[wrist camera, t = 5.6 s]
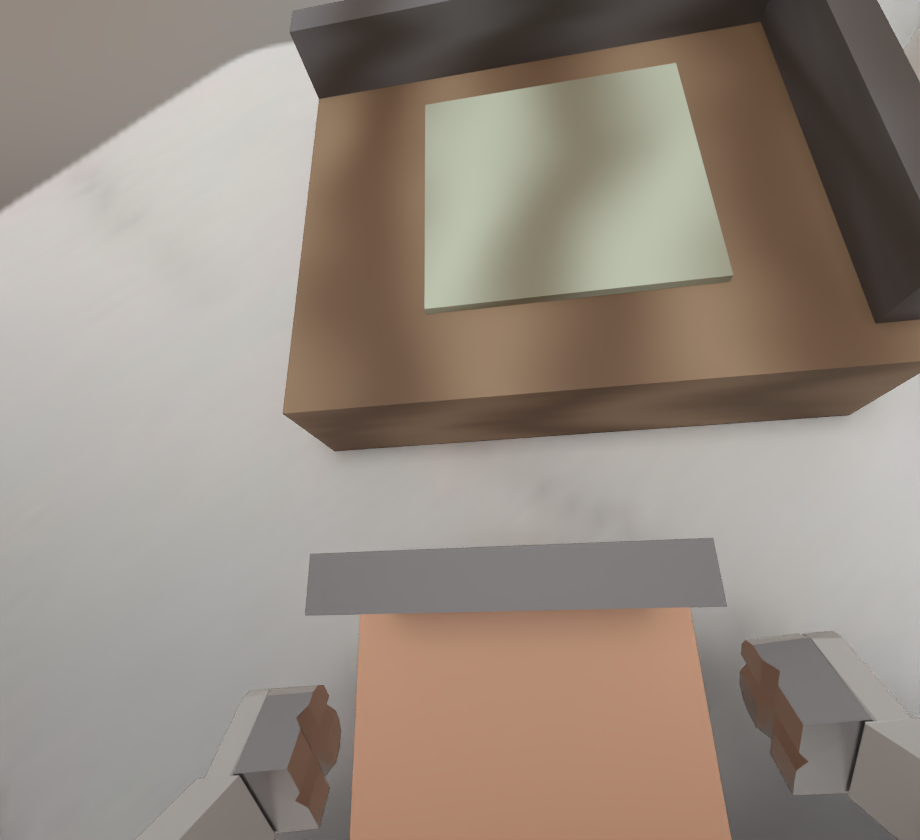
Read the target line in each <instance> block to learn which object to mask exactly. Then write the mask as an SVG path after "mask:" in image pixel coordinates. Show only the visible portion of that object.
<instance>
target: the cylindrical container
mask: <svg viewBox="0 0 920 840" xmlns="http://www.w3.org/2000/svg"><path fill="white" fill-rule="evenodd" d="M903 51H904V53H905V55H906V56H907V58H908V60H909V62H910V64H911V66H912V68H913V70H914V72H915V74H916V75H917V77H918V79H919V81H920V26H919V28H918V29H917V31H916V32H915V34H914V35H913V37H912V38H911V40H910V41H909V43H908V44H907V46H906V47H905V49H904V50H903Z"/></svg>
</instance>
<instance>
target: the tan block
mask: <svg viewBox="0 0 920 840" xmlns="http://www.w3.org/2000/svg"><path fill="white" fill-rule="evenodd" d="M726 606H727V604H726V599H725V594H724V589H723V584H722V579H721V574H720V569H719V564H718V560H717V555H716V550H715V545H714V540H713V538H699V539H674V540H649V541H623V542H598V543H573V544H548V545H523V546H498V547H472V548H447V549H422V550H397V551H372V552H346V553H321V554H310V563H309V575H308V587H307V598H306V610H305V615H351V614H360V628H359V650H358V671H357V692H356V714H355V735H354V756H353V778H352V799H351V820H350V840H731V834H730V828H729V823H728V817H727V812H726V806H725V800H724V795H723V789H722V784H721V778H720V773H719V767H718V761H717V756H716V750H715V745H714V739H713V733H712V728H711V722H710V717H709V711H708V706H707V700H706V694H705V689H704V683H703V678H702V672H701V666H700V661H699V655H698V650H697V644H696V639H695V633H694V627H693V622H692V616H691V611H690V607H726Z"/></svg>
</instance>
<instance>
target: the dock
mask: <svg viewBox="0 0 920 840" xmlns="http://www.w3.org/2000/svg"><path fill="white" fill-rule="evenodd" d="M290 34H291V36H292V39H293V41H294V43H295V45H296V48H297V50H298V52H299V54H300V57H301V59H302V61H303V64H304V66H305V68H306V70H307V73H308V75H309V77H310V79H311V82H312V84H313V86H314V89H315V91H316V93H317V95H318V98H319V104H318V113H317V122H316V130H315V139H314V148H313V156H312V165H311V174H310V182H309V191H308V200H307V208H306V217H305V226H304V234H303V243H302V252H301V260H300V269H299V278H298V286H297V295H296V304H295V312H294V321H293V330H292V338H291V347H290V356H289V364H288V373H287V382H286V390H285V399H284V408H283V414H284V415H285V416H287V417H288V418H289V419H291V420H292V421H294V422H295V423H296V424H298V425H299V426H301V427H302V428H303V429H305V430H306V431H307V432H309V433H310V434H312V435H313V436H314V437H316V438H317V439H319V440H320V441H321V442H323V443H324V444H325V445H327V446H328V447H330V448H331V449H332V450H334V451H341V450H355V449H369V448H384V447H398V446H412V445H427V444H441V443H455V442H470V441H484V440H498V439H512V438H527V437H541V436H555V435H570V434H584V433H598V432H612V431H627V430H641V429H655V428H670V427H684V426H698V425H712V424H727V423H741V422H755V421H770V420H784V419H798V418H812V417H827V416H841V415H850V414H852V413H853V412H855V411H857V410H858V409H860V408H862V407H863V406H865V405H867V404H869V403H870V402H872V401H874V400H875V399H877V398H879V397H880V396H882V395H884V394H885V393H887V392H889V391H890V390H892V389H894V388H895V387H897V386H899V385H900V384H902V383H904V382H906V381H907V380H909V379H911V378H912V377H914V376H916V375H917V374H919V373H920V81H919V79H918V77H917V75H916V74H915V72H914V70H913V68H912V66H911V64H910V62H909V60H908V58H907V56H906V55H905V53H904V51H903V49H902V47H901V45H900V43H899V41H898V39H897V37H896V36H895V34H894V32H893V30H892V28H891V26H890V24H889V22H888V20H887V18H886V17H885V15H884V13H883V11H882V9H881V7H880V5H879V3H878V1H877V0H344V1H339V2H334V3H329V4H324V5H319V6H315V7H309V8H305V9H300V10H295V11H293V14H292V20H291V26H290Z"/></svg>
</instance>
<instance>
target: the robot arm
mask: <svg viewBox="0 0 920 840" xmlns="http://www.w3.org/2000/svg"><path fill="white" fill-rule="evenodd" d="M741 655H742V657H743V658H744V660H745V662H746V665H745V666H744V667H743V668H742V669H741V670H740V688H741V692H742V696H743V700H744V703H745V705H746V708H747V710H748V713H749V715H750V717H751V719H752V720H753V722H754V724H755V726H756V728H758V729H759V730H760V731H762V732H763V733H764V734H766V735H767V736H768V737H770V738H771V748H770V754H771V756H772V758H773V760H774V762H775V764H776V765H777V767H778V769H779V771H780V773H781V775H782V777H783V778H784V780H785V782H786V784H787V786H788V788H789V789H790V791H791V793H792V795H815V794H839V793H849V794H848V797H849V798H851V799H852V800H853V801H854V802H855V803H856V804H858V805H859V806H860V807H861V808H862V809H863V810H864V811H866V812H867V813H868V814H869V815H870V816H871V817H873V818H874V819H875V820H876V821H877V822H878V823H880V824H881V825H882V826H883V827H884V828H885V829H886V830H888V831H889V832H890V833H891V834H892V835H893V836H895V837H896V838H897V839H898V840H920V718H911V717H910V716H909V715H908V713H907V712H906V711H905V710H904V709H903V708H902V706H901V705H900V704H899V703H898V702H897V701H896V699H895V698H894V697H893V696H892V695H891V694H890V692H889V691H888V690H887V689H886V688H885V687H884V685H883V684H882V683H881V682H880V681H879V680H878V678H877V677H876V676H875V675H874V674H873V673H872V671H871V670H870V669H869V668H868V667H867V666H866V664H865V663H864V662H863V661H862V660H861V659H860V657H859V656H858V655H857V654H856V653H855V652H854V650H853V649H852V648H851V647H850V646H849V645H848V643H847V642H846V641H845V640H844V639H843V638H842V636H841V635H839V634H838V633H836V632H834V631H824V632H815V633H806V634H791V635H782V636H774V637H765V638H757V639H749V640H745V641H744V642H743V644H742V649H741ZM328 697H329V695H328V693H327V691H326V689H325V687H324V685H315V686H302V687H288V688H274V689H264V690H253V691H249V692H248V693H247V694H246V696H245V697H244V698H243V699H242V701H241V703H240V705H239V707H238V709H237V711H236V713H235V715H234V718H233V720H232V722H231V724H230V726H229V728H228V730H227V732H226V734H225V736H224V738H223V740H222V743H221V745H220V747H219V749H218V751H217V753H216V755H215V757H214V759H213V761H212V763H211V766H210V768H209V770H208V772H207V774H206V776H205V778H197V779H196V780H195V781H194V782H193V783H192V784H191V785H190V786H189V787H188V788H187V789H186V790H185V791H184V792H183V793H182V794H181V795H180V796H179V797H178V798H177V799H176V800H175V801H174V802H173V803H172V804H171V805H170V806H169V807H168V808H167V809H166V810H165V811H164V812H163V813H162V814H161V815H160V816H159V817H158V818H157V819H156V820H155V821H154V822H153V823H152V824H151V825H150V826H149V827H148V828H147V829H146V830H145V831H144V832H142V833H141V834H140V835H139V836H138V837H137V838H136V839H135V840H274V839H275V838H276V834H275V833H283V832H293V831H302V830H312V829H319V828H320V824H321V820H322V816H323V812H324V809H325V805H326V801H327V797H328V793H329V789H330V788H329V785H328V783H327V780H326V777H325V776H326V775H327V774H328V772H329V771H330V770H331V769H332V767H333V766H334V765H335V764H336V761H337V757H338V753H339V748H340V734H341V729H340V723H339V718H338V715H337V713H336V711H335V710H334V709H332V708H331V707H329V706H328V705H326V704H327V701H328Z"/></svg>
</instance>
